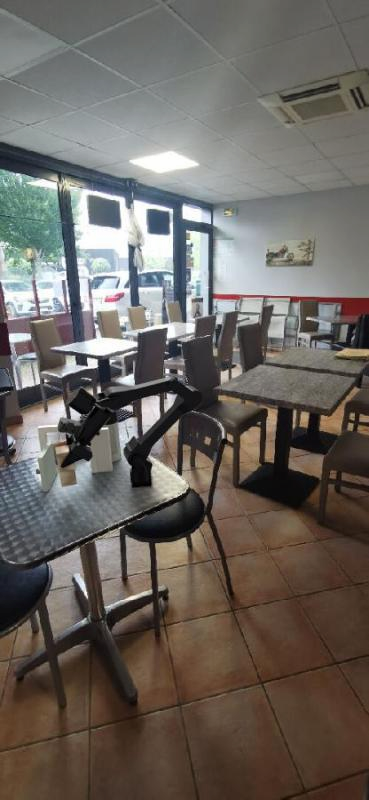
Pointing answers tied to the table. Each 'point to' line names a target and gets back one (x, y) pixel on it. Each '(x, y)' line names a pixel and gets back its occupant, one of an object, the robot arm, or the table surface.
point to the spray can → (114, 438)
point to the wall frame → (98, 447)
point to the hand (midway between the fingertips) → (60, 463)
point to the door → (47, 466)
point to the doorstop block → (68, 472)
